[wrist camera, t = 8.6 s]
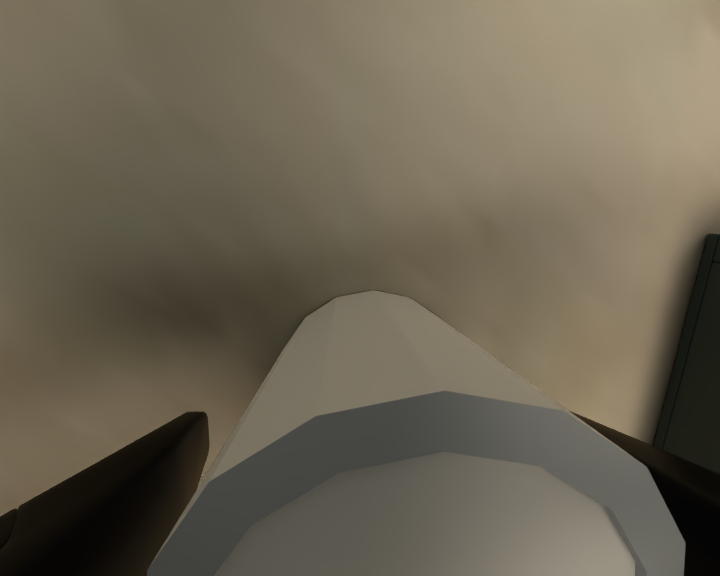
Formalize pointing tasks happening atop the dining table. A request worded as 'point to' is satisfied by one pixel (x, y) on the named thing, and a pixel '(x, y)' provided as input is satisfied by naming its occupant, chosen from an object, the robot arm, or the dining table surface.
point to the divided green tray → (697, 374)
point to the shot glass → (414, 467)
